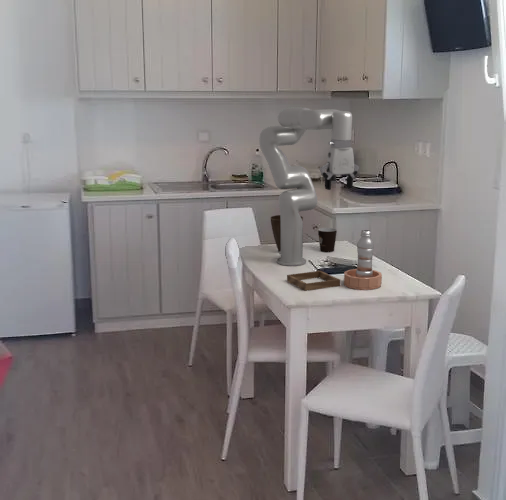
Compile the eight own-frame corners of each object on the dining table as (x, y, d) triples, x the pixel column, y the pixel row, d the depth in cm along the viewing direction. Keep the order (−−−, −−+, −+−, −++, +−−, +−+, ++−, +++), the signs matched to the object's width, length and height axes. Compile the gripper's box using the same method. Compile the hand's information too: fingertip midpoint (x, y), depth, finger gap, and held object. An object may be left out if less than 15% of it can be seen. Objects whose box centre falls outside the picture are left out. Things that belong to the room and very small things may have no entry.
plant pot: (265, 249, 328) (265, 215, 325) (294, 246, 334) (294, 213, 330) (278, 256, 315) (278, 221, 311) (308, 253, 320) (308, 218, 316)
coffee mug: (337, 252, 321) (337, 231, 318) (318, 252, 321) (318, 231, 318) (334, 247, 332) (335, 226, 330) (316, 247, 332) (316, 226, 330)
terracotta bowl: (337, 282, 272) (337, 271, 271) (367, 278, 278) (367, 267, 277) (357, 291, 259) (357, 280, 258) (388, 287, 265) (388, 275, 264)
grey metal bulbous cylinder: (353, 279, 272) (355, 229, 267) (371, 279, 272) (373, 229, 267) (356, 284, 265) (358, 232, 261) (374, 284, 266) (376, 232, 261)
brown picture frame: (287, 281, 274) (287, 274, 274) (320, 276, 281) (320, 270, 280) (305, 290, 261) (305, 284, 261) (340, 285, 267) (340, 279, 267)
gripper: (326, 146, 260) (324, 191, 264) (365, 144, 267) (362, 188, 272) (316, 143, 267) (314, 188, 271) (354, 142, 274) (352, 185, 278)
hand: (338, 188), depth 271 cm, fingers open, 9 cm apart
